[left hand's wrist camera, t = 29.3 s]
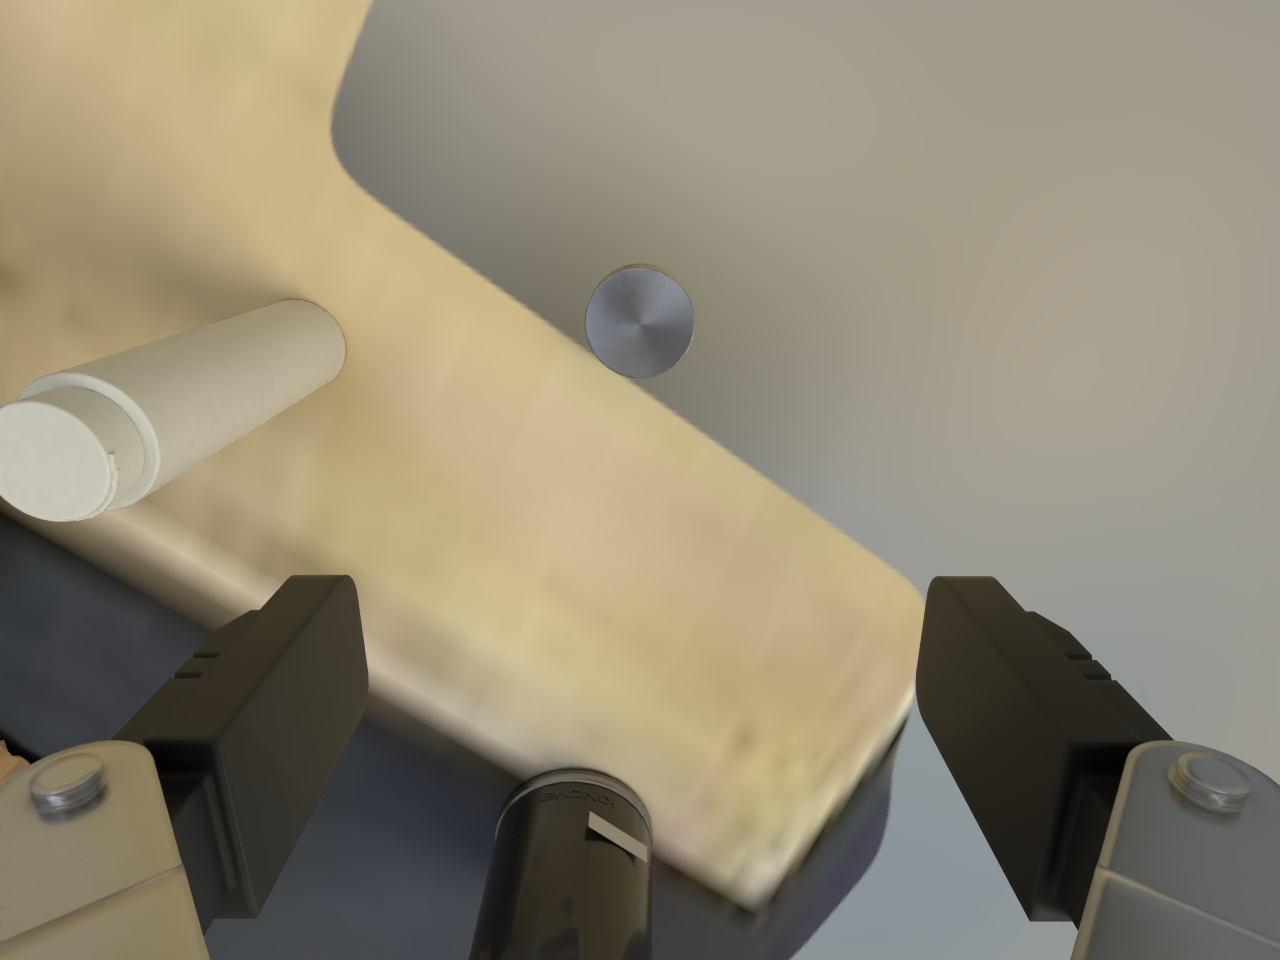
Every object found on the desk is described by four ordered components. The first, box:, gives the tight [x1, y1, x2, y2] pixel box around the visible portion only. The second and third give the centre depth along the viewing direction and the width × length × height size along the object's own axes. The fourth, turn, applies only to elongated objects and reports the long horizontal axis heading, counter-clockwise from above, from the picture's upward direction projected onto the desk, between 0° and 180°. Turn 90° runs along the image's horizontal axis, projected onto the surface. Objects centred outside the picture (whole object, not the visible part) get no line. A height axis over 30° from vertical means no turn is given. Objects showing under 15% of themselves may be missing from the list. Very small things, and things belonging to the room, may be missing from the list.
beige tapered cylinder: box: [0, 300, 346, 522], centre depth 30 cm, size 4×4×18 cm
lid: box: [585, 264, 695, 378], centre depth 37 cm, size 5×5×2 cm
